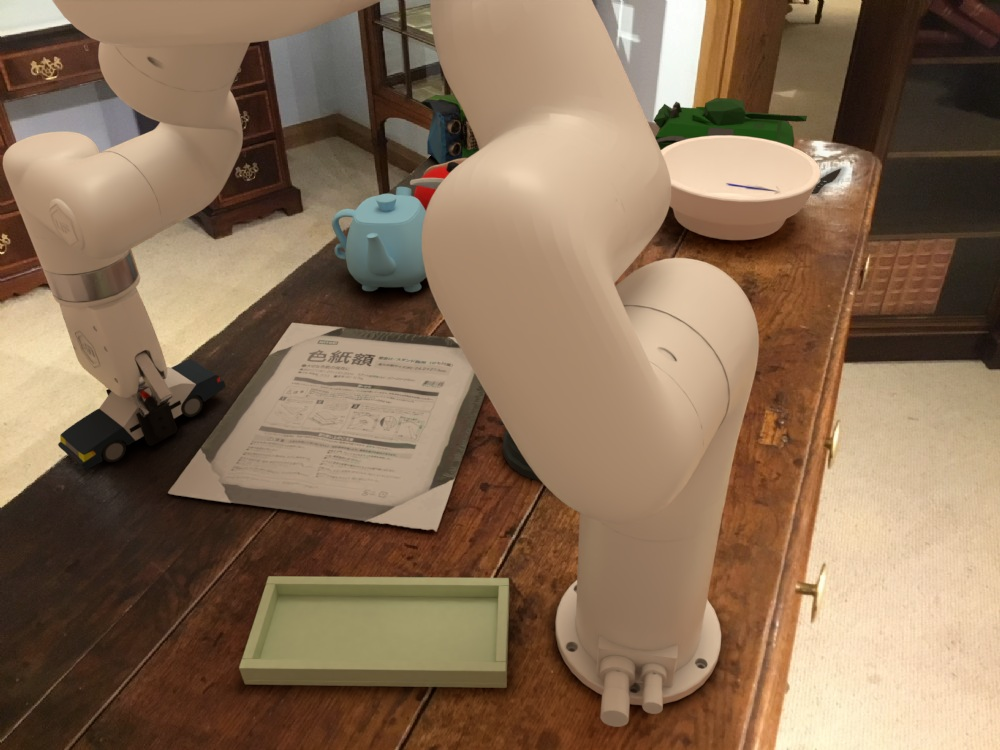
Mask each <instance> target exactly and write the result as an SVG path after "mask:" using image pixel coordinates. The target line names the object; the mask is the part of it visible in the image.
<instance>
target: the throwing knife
mask: <svg viewBox="0 0 1000 750" xmlns="http://www.w3.org/2000/svg"><path fill="white" fill-rule="evenodd" d="M842 169H843V168H842V167H840V168H838V169H835V170H833V171H830V172H827V174H825V175H823V176H821V177H820V179H819V181H818V183H817V185H816V187H815V188H814V190H813V192H812V193H811V195H816V194H818V193H819V192H820V191H821V189H822V188H823V187H824V186H826V185H828V184H829V183H833V182H834V181H835V180H836V179H837V178H838V177H839V175H840V174H841V172H842Z"/></svg>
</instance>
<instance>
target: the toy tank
mask: <svg viewBox="0 0 1000 750" xmlns="http://www.w3.org/2000/svg"><path fill="white" fill-rule="evenodd" d="M807 117H808V115H793V114H791V115H790V114H789V115H788V114H780V113H779V114H778V113H766V112H765V113H764V112H753V111H746V106H745V101H744V100H739V99H735V98H730V97H728V98H726V97H715V98H713V99H711V100H708V101H706V102H705V103H704V106H695V107H684V106H683V107H682V106H681V103H680V102H678V101H675V102H674V104H673V105H672V107H671V106H669V105H667V104H666V103H663V105H662V106H661V108H659V109H658V111H657V114H656V115H655V117H654V119H653V122H654V123H655V124H656V125H657V127H658V128H659V129H658V131H657V133H656V135H655V139H656V141H657V143H658V145H659V148H660V150H662V149H664V148H665V147H667V146H669V145H671V144H673V143H676V142H679V141H683V140H686V139H691V138H697V137H704V136H726V135H731V136H747V137H754V138H761V139H766V140H771V141H775V142H779V143H782V144H785V145H789V146H791V147H793V148H794V146H795V136H794V129H793V125H791V124H790V122H793V123H794V122H797V123H798V122H800V123H801V122H807Z"/></svg>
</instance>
